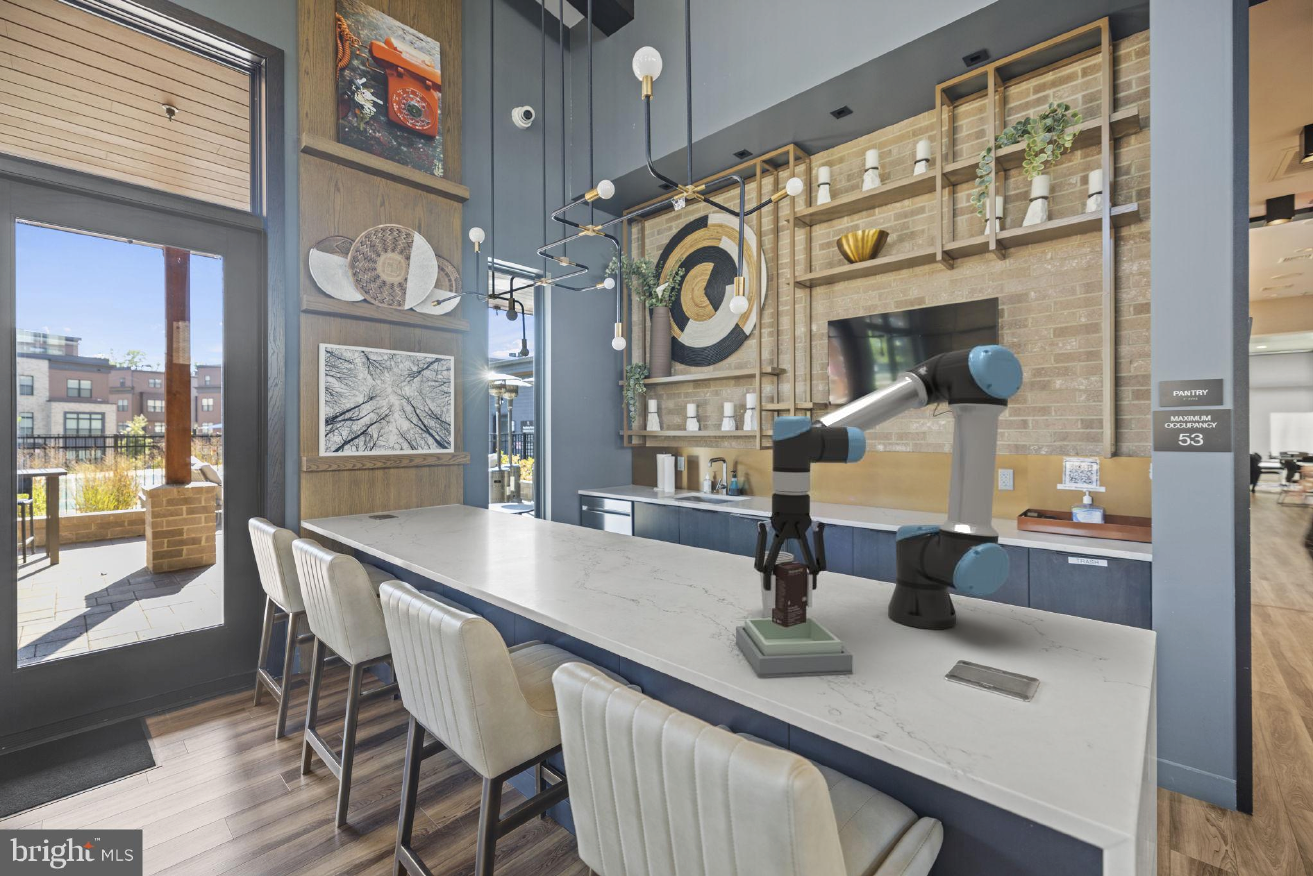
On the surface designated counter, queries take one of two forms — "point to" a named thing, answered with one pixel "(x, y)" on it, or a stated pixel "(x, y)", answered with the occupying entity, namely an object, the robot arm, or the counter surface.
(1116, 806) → the counter surface
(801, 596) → the box
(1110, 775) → the counter surface
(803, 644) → the crates
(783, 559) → the cup
